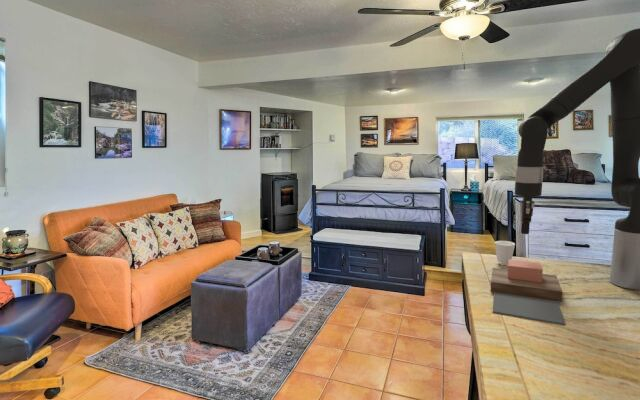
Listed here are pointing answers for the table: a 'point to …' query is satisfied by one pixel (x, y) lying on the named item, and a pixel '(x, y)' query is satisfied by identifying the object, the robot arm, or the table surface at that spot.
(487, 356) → the table surface
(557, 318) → the mat
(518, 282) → the platform
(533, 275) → the block
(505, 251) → the cup
